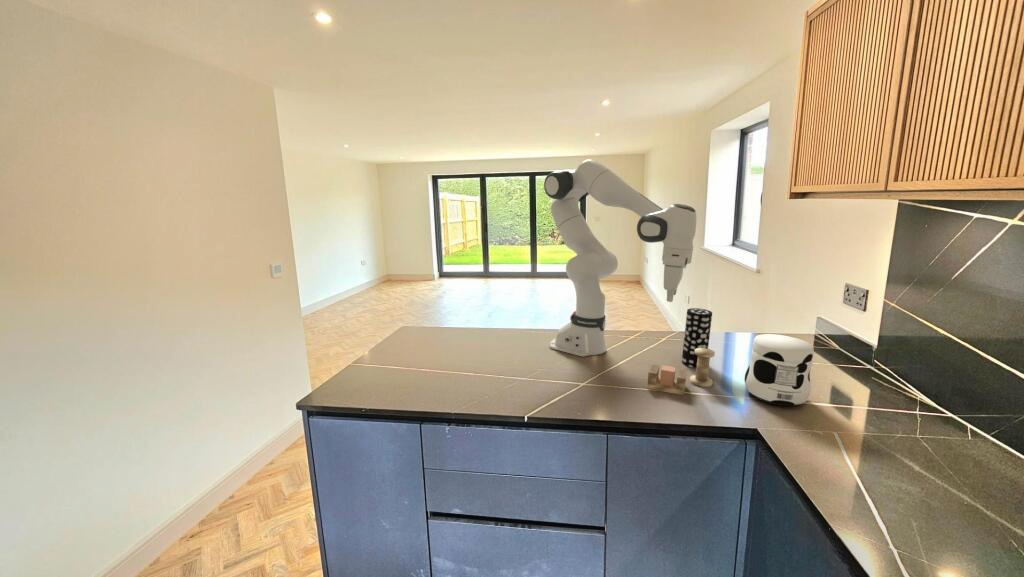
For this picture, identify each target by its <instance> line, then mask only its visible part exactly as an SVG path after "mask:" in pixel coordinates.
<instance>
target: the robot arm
mask: <svg viewBox="0 0 1024 577" xmlns="http://www.w3.org/2000/svg"><path fill="white" fill-rule="evenodd" d="M543 187H544V192H545V194H546V195H547V197H549V198H550V199H552V200H553V201H552V203H551V204H550V212H551V216H552V218H553V221H554V223H555V226H556V228H557V231H558V232H559V234H560V236H561V239H562V241H563V242H564V244H565V247H567V248H568V249H570V250H571V251H573V252H574V253H575V254H576V255H575V256H573V257H571V258H570V259H569V260H568V261H567V263H566V266H565V271H566V275H567V277H568V280H570V281H572V283H573V286H574V290H575V297H576V298H575V301H576V304H575V306H576V307H575V310H574V311H572V314H571V315H570V317H569V320H570V321H569V322H568V323H566V324H565V325H563V326H562V327H560V329H559V330H558V331H557V332H556V336H555V338H553V339H552V340H551V341H550V342H549V348H550V349H551V350H557V351H560V352H564V353H567V354H571V355H575V356H579V357H587V356H597V355H602V354H604V353H606V351H607V345H606V340H605V329H606V315H605V312H606V311H605V309H606V296H605V294H604V292H602V290H601V286H600V280H601V279H606V278H608V277H610V276H611V275H612V274H614V273H615V272H616V270H617V269H618V265H619V264H618V263H619V262H618V258H617V256H616V255H615V254H614V253H613V252H612V251H610V250H609V249H607V248H606V247H605V245H603V244H602V243H601V242H600V241H599V240H598V239H597V237H596V235H595V234H594V233H593V231H592V230H591V228H590V226H589V225H588V222H587V220H586V219H585V217H584V215H583V213H582V211H581V210H580V207H579V202H581V203H582V202H584V201H585V200H586V198H587V196H589V195H590V196H591V197H592V198H593V199H594V200H596V201H597V202H598V203H601V204H602V205H604V206H606V207H615V208H621V209H626V210H629V211H631V212H633V213H635V214H636V215H637V216H639V217H640V218H639V220H638V222H637V226H636V233H637V236H638V237H639V239H640V240H642V242H646V243H650V244H652V243H653V244H654V243H663V248H662V257H661V261H662V265H664V267H663V289H664V290H666V302H668V303H672V302H673V301H674V296H675V295H676V294H677V290H678V287H679V285H680V283H681V281H682V279H683V276H684V274H683V273H684V269H686V268H687V265H688V264H692V259H693V250H694V242H693V240H694V238H695V236H696V230H697V229H696V228H697V212H696V209H695V208H694V207H693V206H689V205H686V204H681V203H673V204H671V205H669V206H668V207H666V208H662V207H660V206H659V205H657V204H656V203H654V202H653V201H651V200H650V199H649V198H648V197H646V196H645V195H643V194H641V193H640V192H638V191H637V190H636V189H635V188H633V187H632V186H631V185H629V184H628V183H627V182H626V181H624V180H623V179H622V178H621V177H620V176H618V175H617V173H615V172H613V170H611V169H610V168H608V167H607V166H606V165H604V164H602V163H601V162H598V161H596V160H595V159H586V160H583V161H582V162H581V163H580V164H579V165H578V166H577V168H568V169H567V168H566V169H562V170H559V169H558V170H554V171H552V172H550V173H548V174H547V176H545V179H544V183H543Z"/></svg>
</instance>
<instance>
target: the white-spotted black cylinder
mask: <svg viewBox="0 0 1024 577" xmlns="http://www.w3.org/2000/svg"><path fill="white" fill-rule="evenodd" d="M712 319H713V311H712V310H708V309H705V308H697V307H694V308H693V307H691V308H688V309H686V317H685V326H684V338H683V345H682V356H681V364H682V365H685V366H687V367H689V368H695V369H697V360H698V355H696V354H695V353H694V352H695V349H696V348H706V349H709V345H710V336H711V328H712V321H713V320H712Z"/></svg>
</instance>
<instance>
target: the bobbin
mask: <svg viewBox="0 0 1024 577" xmlns="http://www.w3.org/2000/svg"><path fill="white" fill-rule="evenodd" d="M694 353H695V354H696V355H698V360H697V368H695V369H696V370H695V374H693V375H691V376H689V383H691V384H692V385H694V386H697V387H701V388H709V387H712V386H713V384H714V383H713V379H712V378H710V377H709V370H710V369H709V367H710V363H711V362H710V360H711V358H714V357H715V351H714V350H713V349H710V348H708V349H706V348H696V349H695V352H694Z"/></svg>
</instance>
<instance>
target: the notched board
mask: <svg viewBox="0 0 1024 577" xmlns="http://www.w3.org/2000/svg"><path fill="white" fill-rule="evenodd" d="M687 373H688V370H687V369H686V370H685V369H681V368H680V369H678V371H677V375H676V379H674V384H673V387H672V386H667V385H662V384H660V376H659V374H660V365H656V364H651V365H650V368H649V371H648V375H647V377H648V378H647V386H646V388H647V389H649V390H655V391H658V392H659V391H660V392H665V393H670V394H675V395H681V396H684V395H685V390H686V381H687V375H688V374H687Z"/></svg>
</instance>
